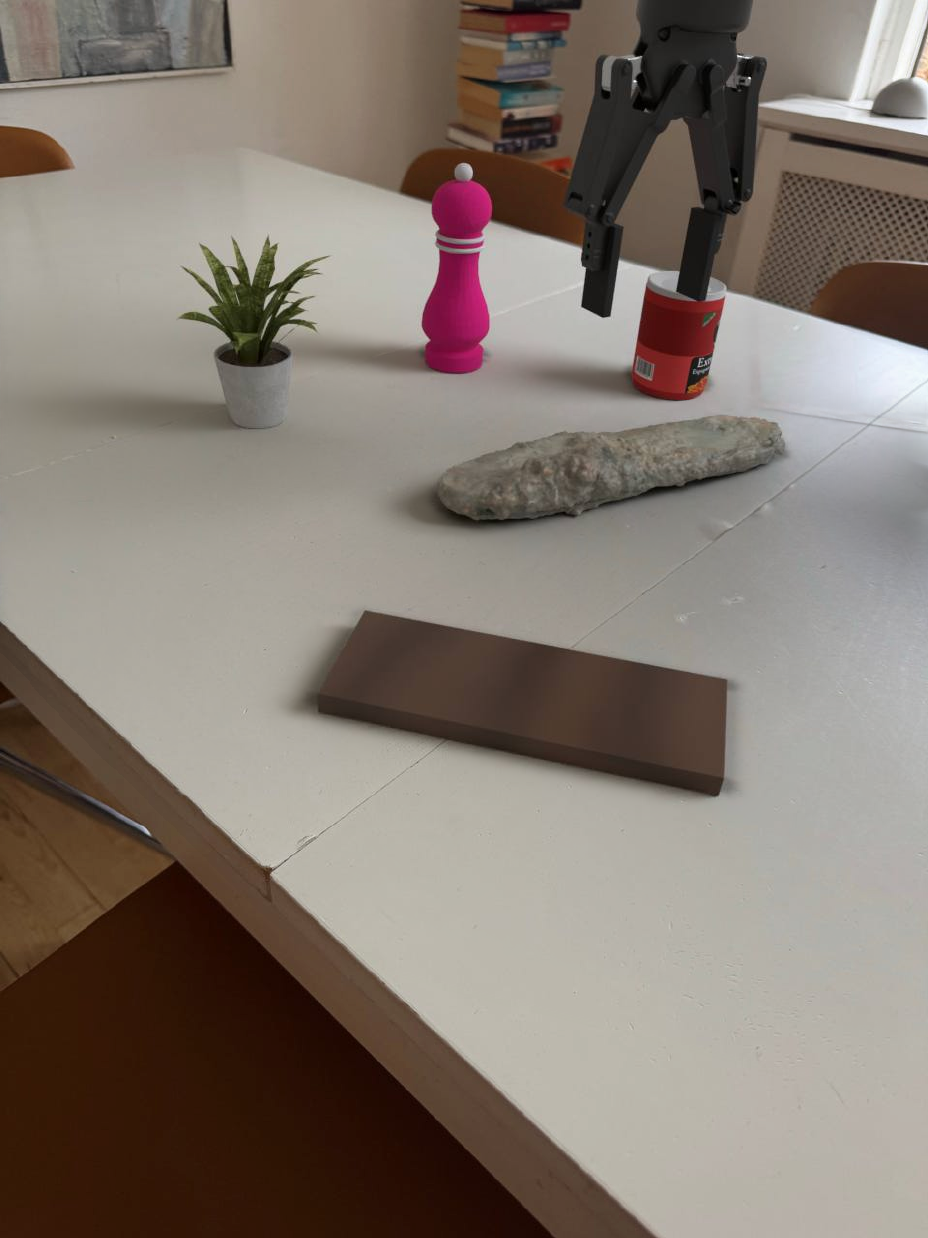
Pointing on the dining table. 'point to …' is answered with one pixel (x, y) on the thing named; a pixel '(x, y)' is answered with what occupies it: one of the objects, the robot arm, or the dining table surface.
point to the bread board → (533, 700)
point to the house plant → (253, 336)
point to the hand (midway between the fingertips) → (644, 303)
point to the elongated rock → (604, 466)
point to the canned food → (676, 338)
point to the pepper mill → (458, 276)
